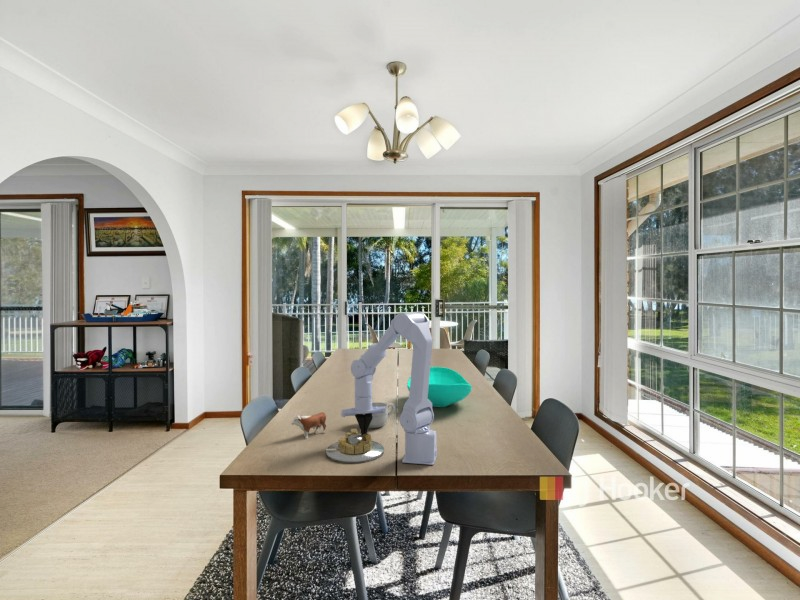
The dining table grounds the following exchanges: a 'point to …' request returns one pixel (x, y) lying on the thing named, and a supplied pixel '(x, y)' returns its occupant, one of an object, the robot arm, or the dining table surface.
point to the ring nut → (358, 448)
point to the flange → (342, 457)
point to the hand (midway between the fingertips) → (363, 436)
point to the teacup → (380, 415)
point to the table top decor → (445, 387)
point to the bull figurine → (310, 422)
